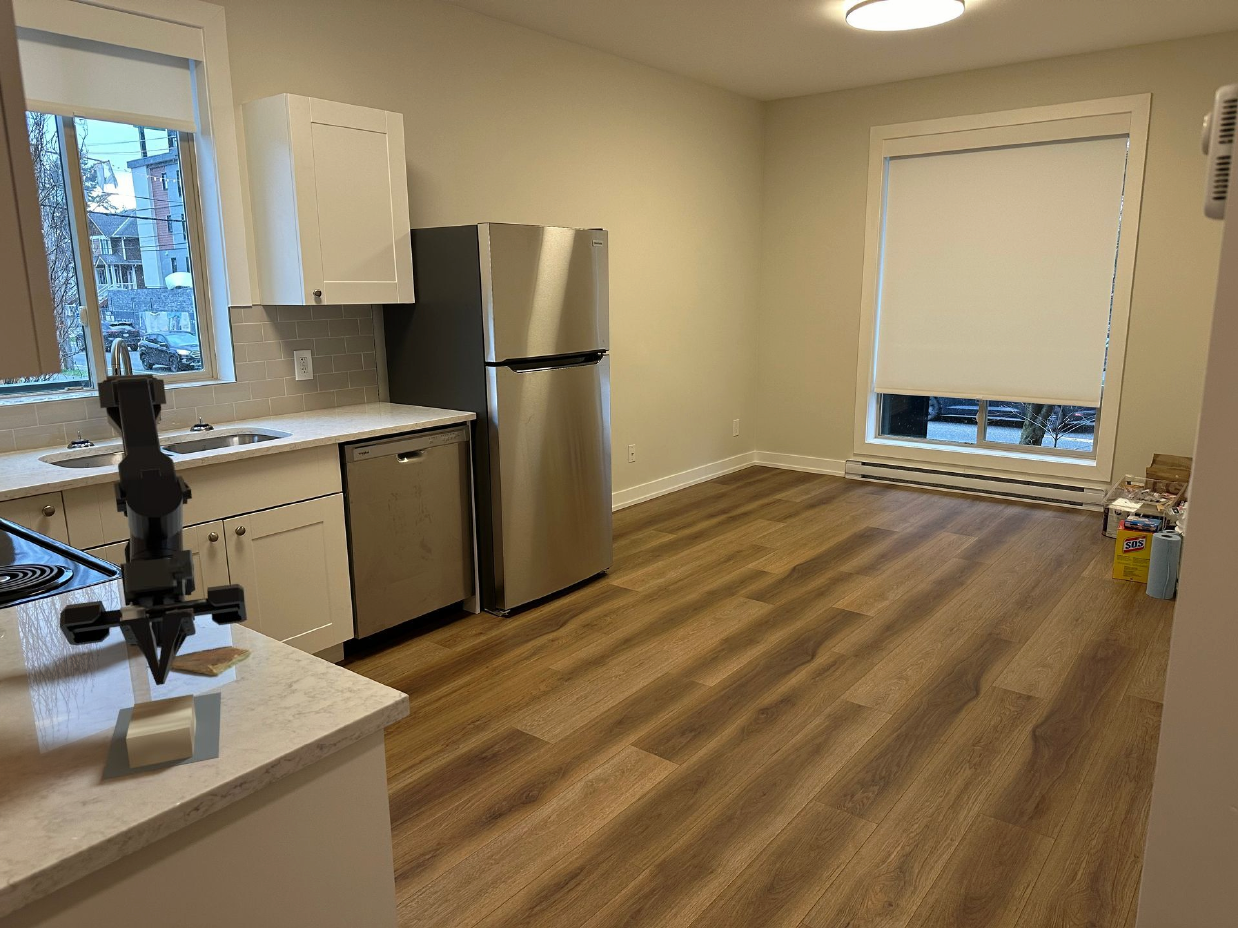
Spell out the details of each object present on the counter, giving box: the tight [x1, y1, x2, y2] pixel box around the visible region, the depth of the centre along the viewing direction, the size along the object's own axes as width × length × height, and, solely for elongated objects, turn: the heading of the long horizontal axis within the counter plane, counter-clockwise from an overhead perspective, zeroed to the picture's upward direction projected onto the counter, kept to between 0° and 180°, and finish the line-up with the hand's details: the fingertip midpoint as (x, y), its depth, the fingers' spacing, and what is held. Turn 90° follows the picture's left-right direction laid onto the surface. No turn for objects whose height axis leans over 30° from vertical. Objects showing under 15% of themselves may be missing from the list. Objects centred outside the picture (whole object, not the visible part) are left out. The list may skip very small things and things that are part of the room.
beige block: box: [126, 694, 196, 768], centre depth 95 cm, size 4×6×8 cm
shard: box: [158, 645, 252, 677], centre depth 116 cm, size 11×8×2 cm
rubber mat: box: [101, 691, 222, 781], centre depth 98 cm, size 16×11×1 cm
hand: (159, 683), depth 96 cm, fingers closed
